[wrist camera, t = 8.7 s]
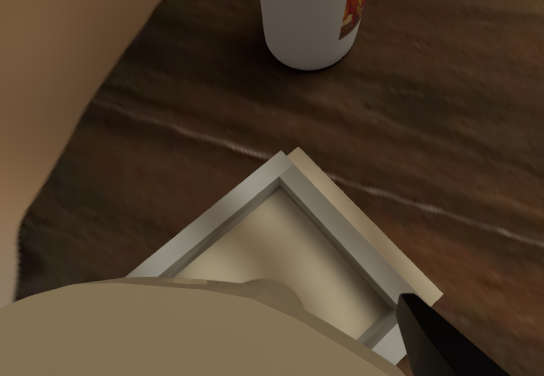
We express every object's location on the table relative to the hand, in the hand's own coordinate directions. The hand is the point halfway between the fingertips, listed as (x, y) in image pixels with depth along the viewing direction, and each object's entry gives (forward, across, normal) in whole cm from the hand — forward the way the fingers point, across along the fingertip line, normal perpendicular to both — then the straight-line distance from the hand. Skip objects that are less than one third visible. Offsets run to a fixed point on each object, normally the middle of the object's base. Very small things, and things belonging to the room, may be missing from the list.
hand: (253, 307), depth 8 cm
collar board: (+7, 0, +7) cm, 10 cm away
